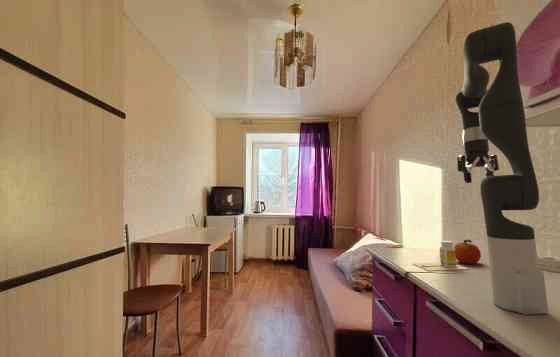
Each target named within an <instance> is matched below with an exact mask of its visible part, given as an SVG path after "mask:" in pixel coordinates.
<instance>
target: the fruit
mask: <svg viewBox="0 0 560 357" xmlns="http://www.w3.org/2000/svg"><path fill="white" fill-rule="evenodd" d="M453 247H454V248H455V253H456V261H458V262H460V263H463V264H468V265H472V264H476V263H478V262H480V260H481V258H482V254H481V251H480V249H479V247H478V246H477V245H476V244H473V243H472V240H471V239H464V240H463V242H459V243H456V244H455V245H454V246H453Z"/></svg>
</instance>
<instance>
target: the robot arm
mask: <svg viewBox="0 0 560 357" xmlns="http://www.w3.org/2000/svg"><path fill="white" fill-rule="evenodd" d="M517 51H518V50H517V38H516V30H515V26H514V25H513V24H512V22H509V21H508V22H507V21H506V22H501V23H499V24H495V25H491V26H489V27H485V28H481V29H477V30H474V31H472V32H470V33H469V34H468V35H467V36H466V38H465V40H464V44H463V75H464V76H463V77H464V79H463V84H462V90H461V91H459V92H457V93H456V95H455V97H454V104H455V107H456V109H457V111H458V114H459V115H460V119H461V123H462V141H463V144H462V145H463V152H464V154H463V155H458V156H457V171H458V172H460V173H463V180H464V183H466V184H470V183H472V180H473V179H472V170H473V169H474V168H481V169H483V170H484V171H485V176H484V177H483V178H482V179H481V182H480V197H481V202H482V208H483V215H484V222H485V223H484V224H485V229H486V231H485V232H486V238H487V239H486V240H487V249H488V250H487V251H488V259H489V262H488V263H489V270H490V271H489V272H490V281H491V289H492V299H493V300H492V302H493V304H494V305H496V306H498V307H499V308H502V309H504V310H507V311H511V312H516V313H520V314H521V315H523V316H525V315H527V316H528V315H541V314H543V315H545V314H549V308H548V307H549V306H548V299H547V292H546V289H547V288H546V282H545V274H544V272H543V271H541V270H539V261H538V253H537V252H538V251H537V244H536V243H537V241H536V234H535V230H534V228H533V227H532V226H530V225H527V224H524V223H520V222H517V221H513V220H511V219H509V218H507V217H506V216H505V215H504V214H503V211H532V210H535V209H536V208H537V207H538V205H539V201H540V190H539V184H538V181H537V175H536V173H535V169H534V164H533V161H532V157H531V153H530V152H531V151H530V148H529V141H528V133H527V132H528V131H527V124H526V115H525V107H524V102H523V96H522V91H521V86H520V80H519V70H518V54H517ZM494 61H499V69H498V71H497V74H496V75H495V77H494V80H493V82H492V83H491V85H490V86H489V88H488V85H489V81H490V74H489V71H488V70H487V69H486V68H485V67H484V66H482V64H486V63H490V62H494ZM487 88H488V89H487ZM474 108H475V109H476V108H478V109H477V111H470V110H469V109H474ZM489 142H490V143H491V144H492V145H494V146H495V148H497V149H498V150H499V151H500V152H501V153H502V154H503V156H505V158H506V159H507V161H508V163H509V165H510V167H511V170H512V174H503V175H502V174H500V175H494V172H496V171H499V170H500V167H499V162H498V156H497V154H492V155H489V153H488V152H489V150H490V148H489V146H490V145H489Z"/></svg>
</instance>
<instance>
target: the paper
mask: <svg viewBox="0 0 560 357" xmlns="http://www.w3.org/2000/svg"><path fill="white" fill-rule="evenodd" d="M412 265H413V266H416V267H417V268H420V269H423V270H425V271H426V272H427V271H428V272H440V271H441V272H443V271H446V272H447V271H463V270H464V271H465V270H467V271H468V270H469V269H470V268H468V267H465V266H462V265H458V264H456V266H455V267H447V266H442V265H441V261H439V262H422V263H421V262H419V263H416V262H415V263H412Z"/></svg>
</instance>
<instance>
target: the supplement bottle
mask: <svg viewBox="0 0 560 357" xmlns="http://www.w3.org/2000/svg"><path fill="white" fill-rule="evenodd" d="M440 244H441V246H439V259H440V260H439V262H441V265H442V266H447V267H455V266H456V265H457V259H456V253H455V248H454V246H453V245H454V242H453V241H451V240H441V241H440Z"/></svg>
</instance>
